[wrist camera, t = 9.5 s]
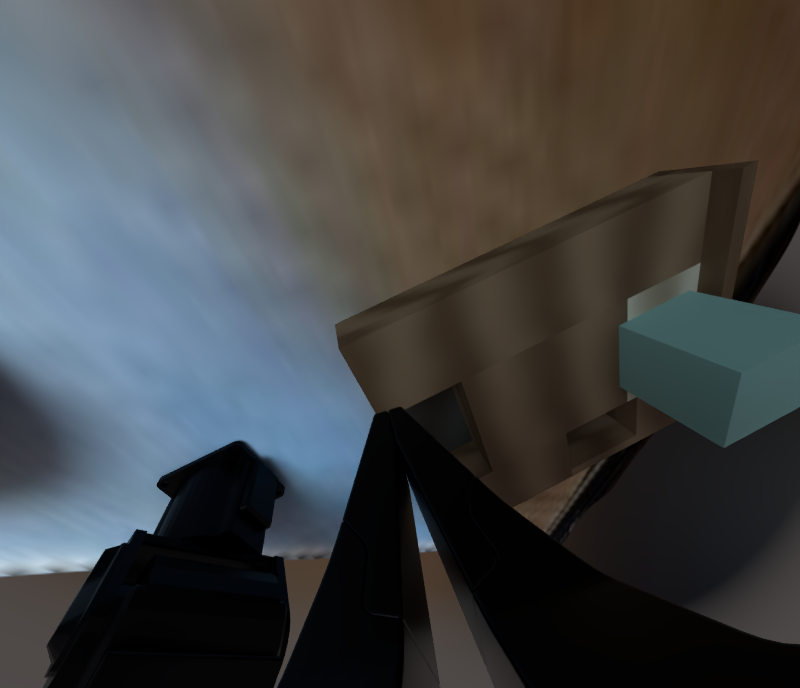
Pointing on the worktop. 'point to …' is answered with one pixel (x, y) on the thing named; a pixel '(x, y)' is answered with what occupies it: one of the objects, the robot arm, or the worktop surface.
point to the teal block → (713, 363)
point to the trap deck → (550, 329)
